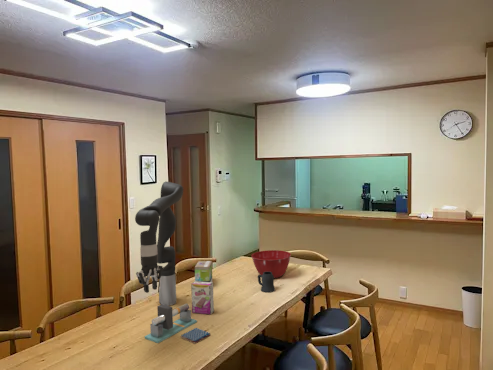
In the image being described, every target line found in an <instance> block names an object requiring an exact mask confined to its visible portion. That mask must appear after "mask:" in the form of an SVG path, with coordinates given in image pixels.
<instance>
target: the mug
mask: <svg viewBox="0 0 493 370" xmlns="http://www.w3.org/2000/svg"><path fill="white" fill-rule="evenodd" d="M274 281H275V278H274V276H273V274H272V272H268V271H267V272H263V275H260V274H258V275H257V282H258V284H259V285H260V286H261V287H260V291H261V292H262V293H269V294H270V293H273V292H275V291H276V287H275V284H274V283H275V282H274Z"/></svg>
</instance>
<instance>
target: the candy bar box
mask: <svg viewBox="0 0 493 370" xmlns="http://www.w3.org/2000/svg"><path fill="white" fill-rule="evenodd" d="M190 287H191V288H190V289H191V290H190V291H191V314H201V315H209V316H210V315H212V314H213V313H214V312H215V308H214V306H215V304H214V302H215V300H214V282H213V281H212V282H199V281H195V280H194V281H193V282H192V283H191V286H190Z"/></svg>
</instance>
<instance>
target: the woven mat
mask: <svg viewBox="0 0 493 370" xmlns="http://www.w3.org/2000/svg"><path fill="white" fill-rule="evenodd" d="M210 336H211V332H209V331H207V330H204V329H201V328H198V327H194V328H193V329H191V330H189V331H187V332H184V333H183V334H181V336H180V338H181V339H182V340H184V341H188V342H189V343H192V344H194V345H195V344H197V343H199V342H201V341H203V340H205V339H206V338H208V337H210Z"/></svg>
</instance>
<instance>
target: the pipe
mask: <svg viewBox="0 0 493 370" xmlns="http://www.w3.org/2000/svg"><path fill="white" fill-rule="evenodd" d="M172 314H173V317H175V316H178V315H179V319H180V321H182V322H186V323H188V322H190V321H191V319H192V309H190V305H189V304H188V303H184V304H182V305H179V306H177V307H176V308H172ZM163 321H165V315H160V316H158V315H157V316H156V317H154V318H152V319H151V323H150V326H149V327H150V333H151V336H153V337H156V338H160V337H162V336H163V324H160V323H161V322H163Z"/></svg>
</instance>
